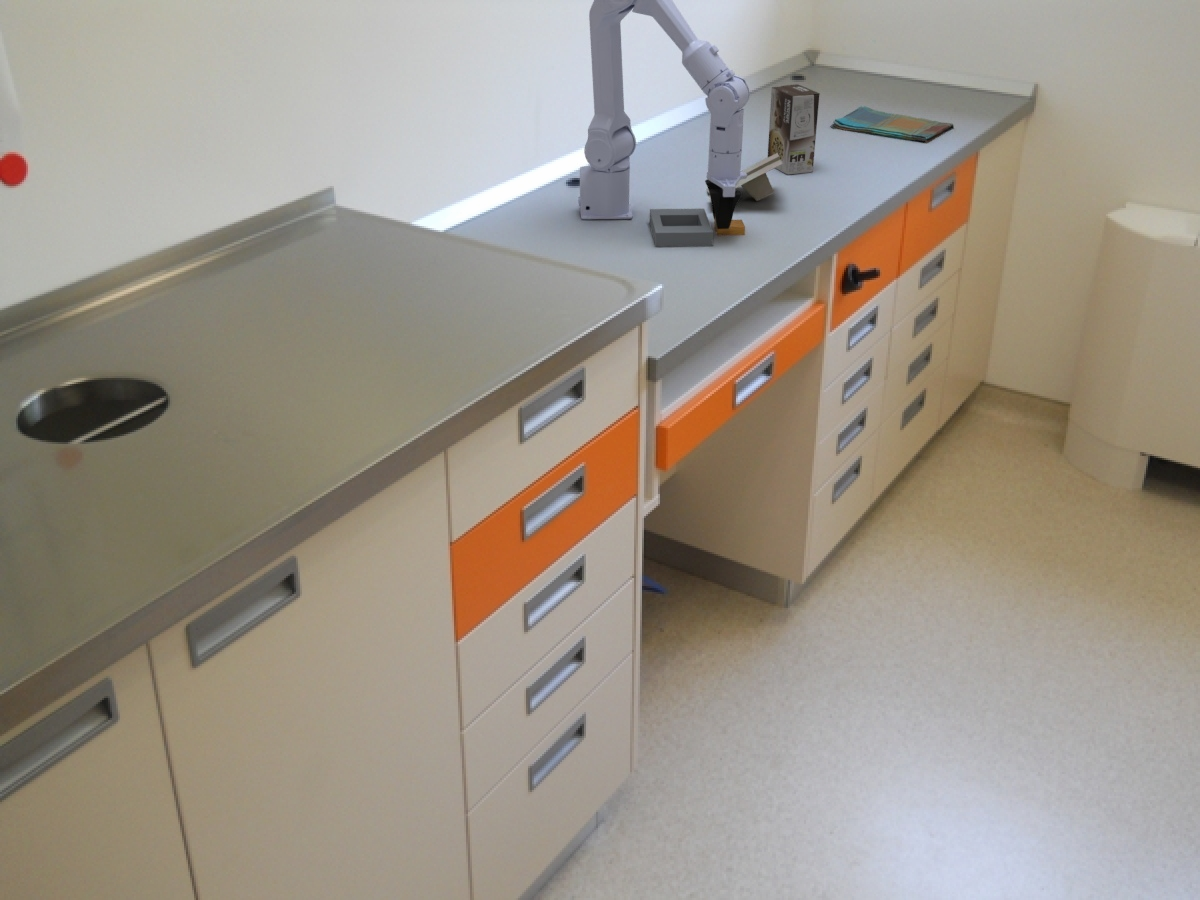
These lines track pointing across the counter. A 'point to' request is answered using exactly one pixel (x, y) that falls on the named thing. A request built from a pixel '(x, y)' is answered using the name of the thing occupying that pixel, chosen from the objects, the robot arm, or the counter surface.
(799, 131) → the coffee box
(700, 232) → the well block
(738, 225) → the wooden step block
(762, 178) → the beige footed plank
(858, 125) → the dish towel
